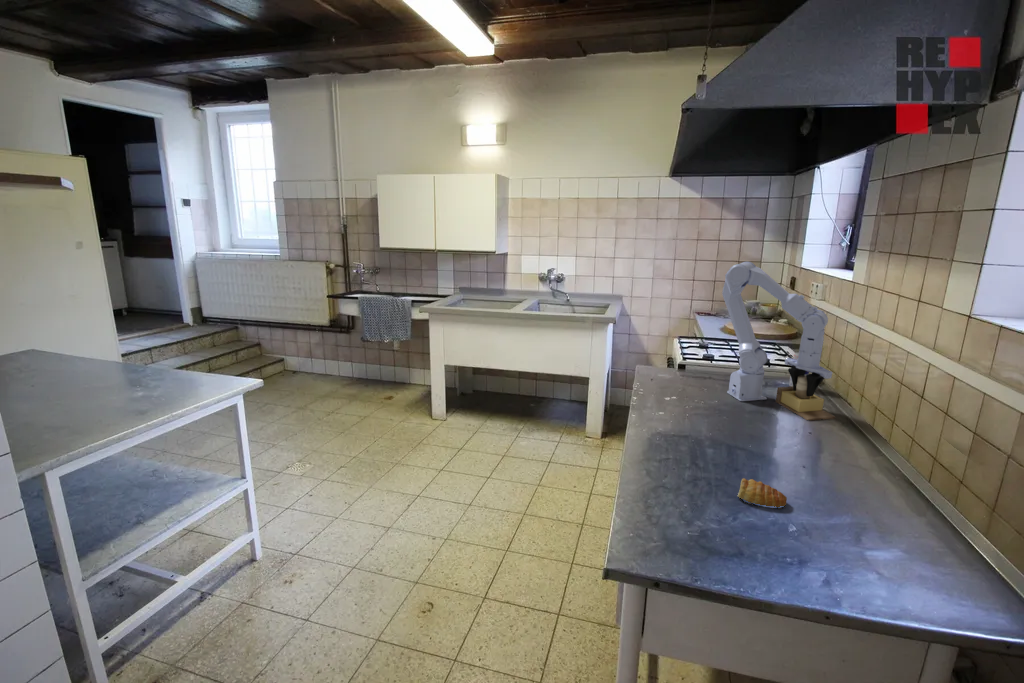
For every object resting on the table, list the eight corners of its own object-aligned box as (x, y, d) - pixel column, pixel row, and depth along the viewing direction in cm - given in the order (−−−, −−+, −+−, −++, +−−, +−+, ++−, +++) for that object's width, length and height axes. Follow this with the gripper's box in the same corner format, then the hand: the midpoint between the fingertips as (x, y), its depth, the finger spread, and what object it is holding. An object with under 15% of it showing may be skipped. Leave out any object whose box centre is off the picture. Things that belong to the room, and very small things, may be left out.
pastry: (785, 498, 106) (788, 483, 105) (785, 515, 100) (788, 499, 99) (738, 487, 110) (740, 472, 109) (735, 503, 105) (737, 487, 104)
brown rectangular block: (807, 420, 143) (810, 404, 142) (775, 401, 156) (777, 387, 155) (835, 418, 144) (838, 402, 143) (800, 400, 158) (803, 385, 156)
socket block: (798, 412, 147) (800, 401, 146) (780, 401, 155) (782, 391, 154) (822, 410, 148) (824, 399, 147) (803, 400, 156) (804, 389, 155)
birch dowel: (803, 402, 148) (806, 380, 147) (791, 397, 152) (794, 376, 150) (812, 400, 150) (816, 378, 148) (800, 395, 153) (804, 374, 152)
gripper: (779, 346, 152) (773, 386, 156) (822, 359, 139) (814, 403, 143) (796, 343, 154) (790, 383, 158) (840, 356, 141) (832, 400, 145)
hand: (803, 393), depth 150 cm, fingers closed on birch dowel, 4 cm apart
